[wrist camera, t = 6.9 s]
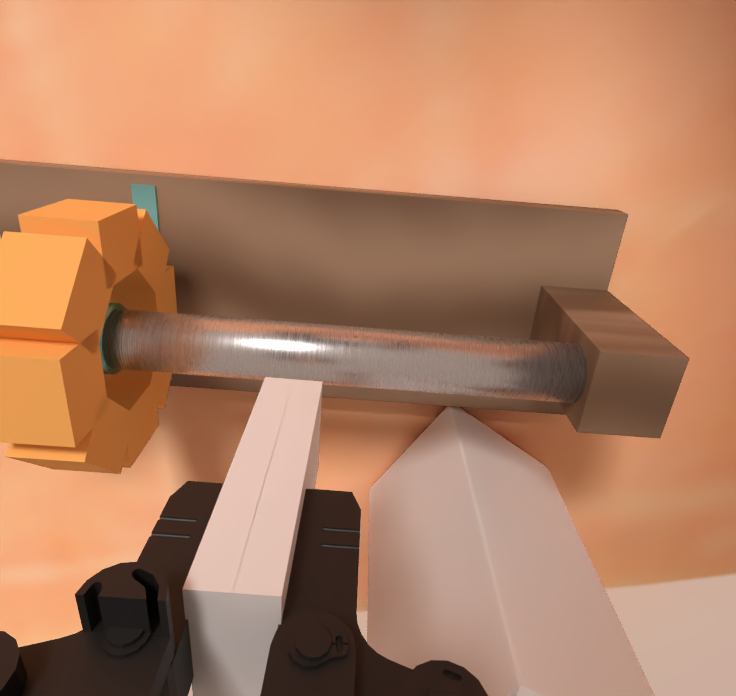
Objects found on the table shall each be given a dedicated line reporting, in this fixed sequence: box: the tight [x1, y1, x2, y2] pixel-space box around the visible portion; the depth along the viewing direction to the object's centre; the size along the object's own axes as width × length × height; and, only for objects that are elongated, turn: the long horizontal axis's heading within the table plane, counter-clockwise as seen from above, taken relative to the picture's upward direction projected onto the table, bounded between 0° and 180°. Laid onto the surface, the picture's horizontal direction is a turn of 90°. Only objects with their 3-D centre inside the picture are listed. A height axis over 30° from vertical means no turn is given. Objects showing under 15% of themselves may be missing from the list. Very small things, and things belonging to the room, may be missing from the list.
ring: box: [0, 199, 177, 474], centre depth 19 cm, size 9×2×9 cm, turn 176°
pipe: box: [99, 302, 587, 403], centre depth 20 cm, size 3×24×3 cm, turn 86°
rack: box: [0, 159, 689, 438], centre depth 22 cm, size 10×27×8 cm, turn 86°
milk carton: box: [367, 406, 654, 696], centre depth 21 cm, size 7×7×19 cm
